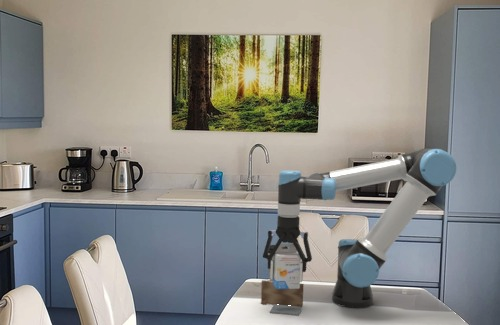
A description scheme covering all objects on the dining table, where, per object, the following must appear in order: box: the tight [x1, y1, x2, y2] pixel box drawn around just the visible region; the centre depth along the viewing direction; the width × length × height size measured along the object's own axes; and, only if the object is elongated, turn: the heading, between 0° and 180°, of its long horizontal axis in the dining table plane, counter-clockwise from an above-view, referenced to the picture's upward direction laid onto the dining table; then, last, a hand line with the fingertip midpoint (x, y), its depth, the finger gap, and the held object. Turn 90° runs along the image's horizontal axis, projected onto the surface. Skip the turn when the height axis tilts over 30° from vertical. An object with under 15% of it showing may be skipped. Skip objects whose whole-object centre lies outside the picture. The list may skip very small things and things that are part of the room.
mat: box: [269, 304, 303, 317], centre depth 188 cm, size 10×8×1 cm
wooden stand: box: [260, 279, 305, 308], centre depth 195 cm, size 15×4×8 cm, turn 77°
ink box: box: [273, 243, 302, 289], centre depth 187 cm, size 8×5×15 cm, turn 102°
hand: (286, 279), depth 188 cm, fingers closed on ink box, 9 cm apart
